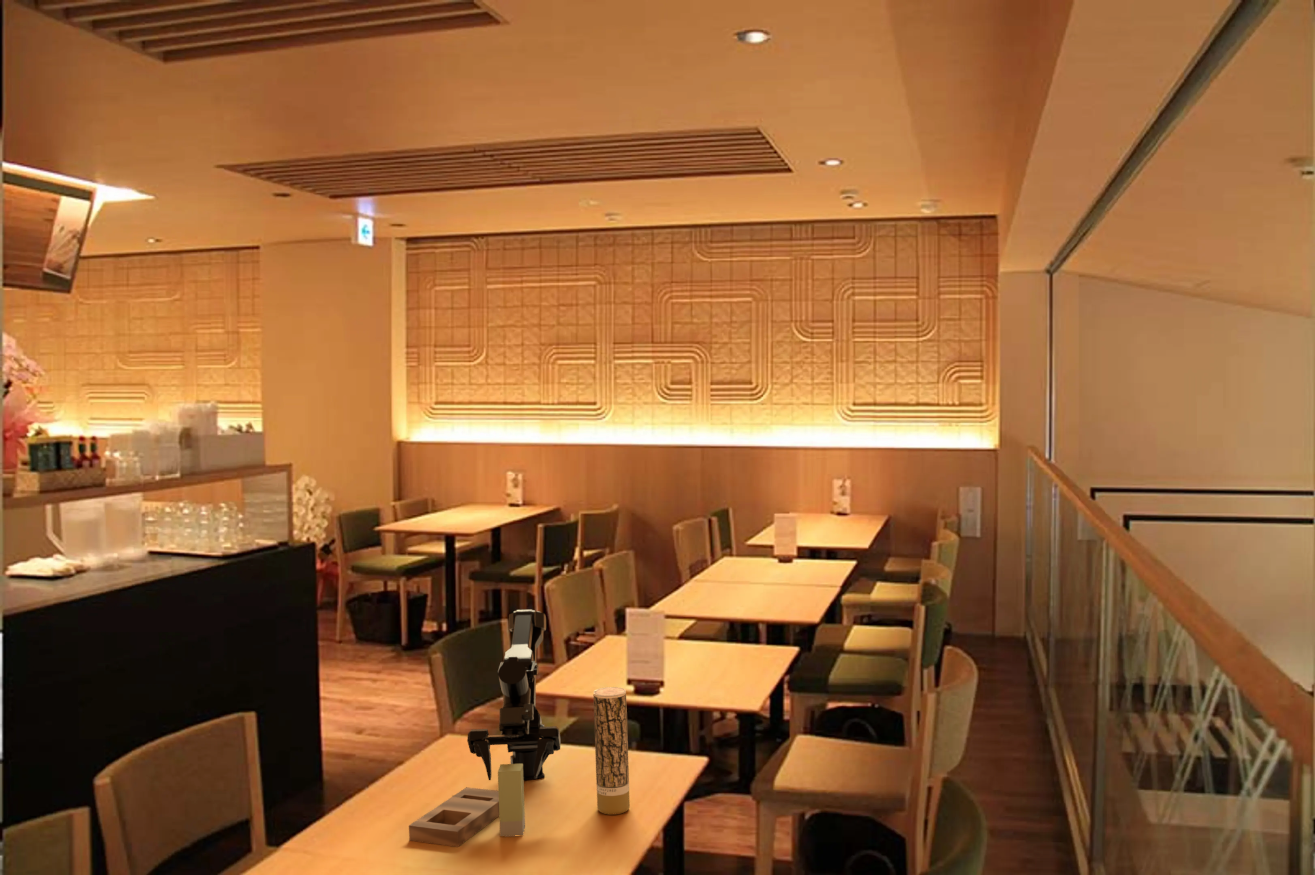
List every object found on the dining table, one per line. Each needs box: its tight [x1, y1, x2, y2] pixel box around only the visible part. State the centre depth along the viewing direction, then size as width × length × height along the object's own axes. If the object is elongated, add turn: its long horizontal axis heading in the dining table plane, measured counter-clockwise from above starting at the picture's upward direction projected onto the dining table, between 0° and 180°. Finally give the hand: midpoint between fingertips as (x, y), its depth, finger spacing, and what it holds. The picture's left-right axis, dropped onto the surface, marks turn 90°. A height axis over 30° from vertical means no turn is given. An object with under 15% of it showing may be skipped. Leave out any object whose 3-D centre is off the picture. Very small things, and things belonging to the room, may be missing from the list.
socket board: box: [408, 786, 499, 848], centre depth 228 cm, size 22×11×3 cm, turn 159°
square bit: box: [497, 763, 526, 837], centre depth 222 cm, size 4×4×13 cm
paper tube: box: [593, 686, 631, 815], centre depth 232 cm, size 7×7×25 cm
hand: (512, 778), depth 225 cm, fingers open, 9 cm apart
